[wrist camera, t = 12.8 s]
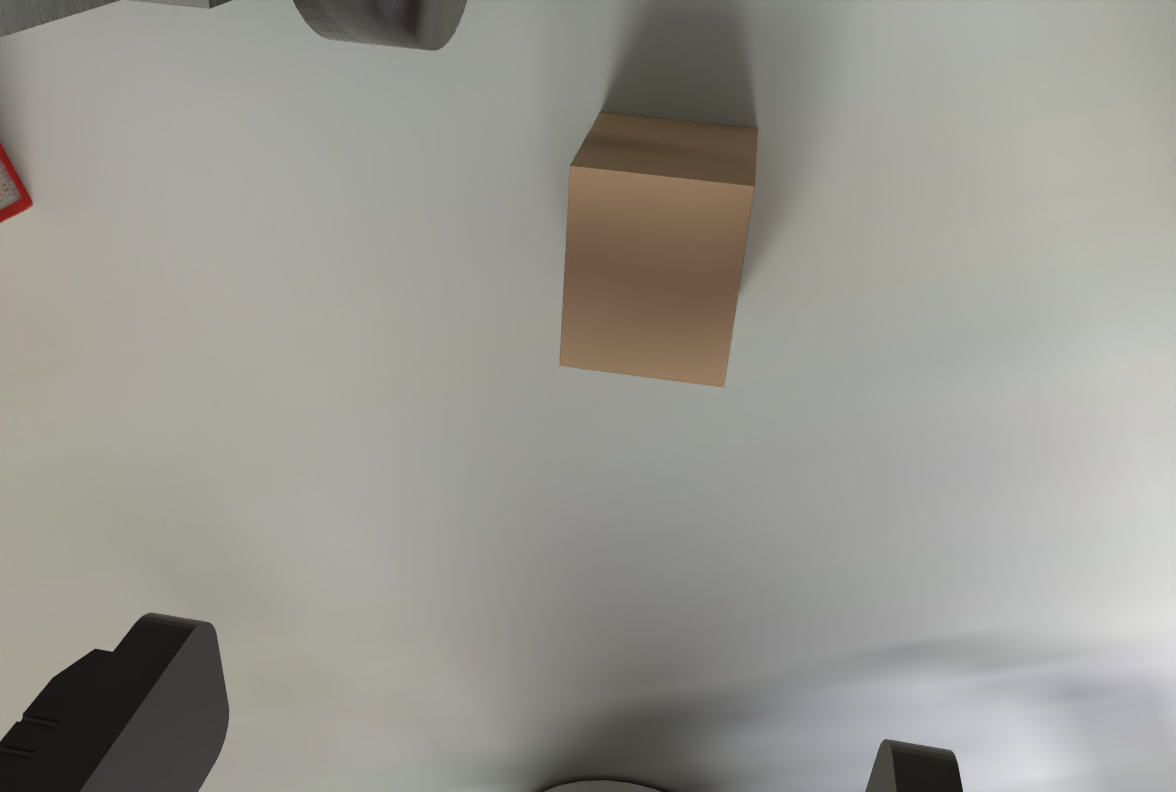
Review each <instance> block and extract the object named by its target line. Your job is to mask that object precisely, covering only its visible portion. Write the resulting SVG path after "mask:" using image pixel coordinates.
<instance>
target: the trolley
mask: <svg viewBox="0 0 1176 792" xmlns="http://www.w3.org/2000/svg"><path fill="white" fill-rule="evenodd" d="M116 1H119V0H0V37H3V36H6V35H9V34H12V33H16V32H19V31H22V30H25V29H29V28H32V27H35V26H38V25H42V24H45V23H48V22H51V21H55V20H58V19H61V18H64V17H68V16H71V15H74V14H77V13H80V12H84V11H87V10H90V9H93V8H97V7H100V6H103V5H106V4H110V3H113V2H116ZM131 1H141V2H151V3H160V4H170V5H179V6H189V7H199V8H208V9H210V8H213V7H215V6H218V5H221V4H223V3H226V2H229V1H231V0H131ZM293 1H294V3H295V5H296V8H297V9H298V11H299V12H300V14H301V15H302V17H303V19H304V20H305V21H306V23H307V24H308V25H309V26H310V27H311V28H312V29H313V31H315V32H316V33H317V34H319V35H320V36H322V37H324V38H327V39H329V40H337V41H347V42H356V43H365V44H375V45H384V46H394V47H403V48H412V49H422V50H438V49H440V48H442V47H444V46H445V45H446V44H447V43H448V42H449V40H450V39H451V37H452V36H453V34H454V32H455V30H456V28H457V26H458V24H459V22H460V19H461V17H462V14H463V12H464V9H465V5H466V2H467V0H293Z"/></svg>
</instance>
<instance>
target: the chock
mask: <svg viewBox="0 0 1176 792" xmlns="http://www.w3.org/2000/svg"><path fill="white" fill-rule="evenodd" d="M757 132H758V129H757V128H748V127H738V126H729V125H719V124H710V123H700V122H691V121H681V120H672V119H662V118H653V117H643V116H634V115H624V114H615V113H605V112H600V113H599V115H598V117H597V119H596V120H595V122H594V124H593V126H592V127H591V129H590V131H589V133H588V135H587V136H586V138H585V140H584V142H583V144H582V145H581V147H580V149H579V151H578V153H577V154H576V156H575V158H574V160H573V162H572V163H571V165H570V178H569V197H568V216H567V234H566V253H565V272H564V291H563V310H562V328H561V347H560V366H566V367H574V368H582V369H589V370H597V371H604V372H612V373H619V374H627V375H634V376H642V377H650V378H657V379H665V380H672V381H680V382H687V383H695V384H702V385H710V386H718V387H724V384H725V377H726V371H727V364H728V358H729V351H730V344H731V338H732V331H733V325H734V318H735V311H736V305H737V298H738V292H739V285H740V278H741V272H742V265H743V259H744V252H745V245H746V239H747V232H748V226H749V219H750V212H751V206H752V199H753V193H754V186H755V168H756V150H757Z"/></svg>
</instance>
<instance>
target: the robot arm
mask: <svg viewBox="0 0 1176 792" xmlns="http://www.w3.org/2000/svg"><path fill="white" fill-rule="evenodd" d="M228 721H229V705H228V699H227V693H226V687H225V681H224V675H223V669H222V663H221V658H220V652H219V646H218V640H217V634H216V630H215V628H214V626H213V625H212V624H211V623H209V622H205V621H199V620H193V619H187V618H181V617H175V616H169V615H163V614H157V613H148V614H145V615H144V616H142V617H141V618H140V619H139V620H138V621H137V622H136V623H135V624H134V625H133V627H132V628H131V629H130V631H129V632H128V633H127V634H126V636H125V637H124V638H123V640H122V641H121V642H120V643H119V645H118V646H117V647H116V649H115V650H114V651H113V652H111V651H105V650H99V649H94V650H93V651H91V652H90V653H88V654H87V655H85V656H84V657H82V658H81V659H79V660H78V661H76V662H75V663H74V664H72V665H71V666H69V667H68V668H66V669H65V670H63V671H62V672H60V673H59V674H58V675H56V676H55V677H53V678H52V679H51V681H50V682H49V683H48V684H47V685H46V687H45V688H44V689H43V690H42V691H41V693H40V694H39V695H38V696H37V698H36V699H35V700H34V701H33V702H32V704H31V705H30V706H29V707H28V708H27V710H26V711H25V712H24V713H23V718H22V720H21V721H20V722H16V723H15V724H14V725H13V727H12V728H11V729H10V730H9V732H8V733H7V734H6V735H5V736H4V738H3V739H2V740H1V741H0V792H198V791H199V789H200V788H201V786H202V784H203V782H204V781H205V779H206V777H207V776H208V774H209V772H210V770H211V769H212V767H213V765H214V764H215V762H216V760H217V758H218V756H219V754H220V751H221V749H222V746H223V743H224V740H225V737H226V732H227V728H228ZM544 792H661V791H658V790H656V789H652V788H648V787H644V786H640V785H636V784H632V783H626V782H616V781H607V780H599V781H579V782H574V783H569V784H564V785H559V786H556V787H554V788H551V789H549V790H547V791H544ZM865 792H963V789H962V784H961V778H960V773H959V768H958V763H957V760H956V757H955V755H954V753H953V752H952V751H951V750H947V749H941V748H935V747H929V746H923V745H917V744H911V743H905V742H900V741H894V740H888V739H885V740H883V741H882V743H881V745H880V747H879V750H878V753H877V756H876V759H875V763H874V766H873V769H872V772H871V775H870V779H869V782H868V785H867V788H866V791H865Z"/></svg>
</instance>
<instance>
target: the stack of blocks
mask: <svg viewBox="0 0 1176 792" xmlns="http://www.w3.org/2000/svg"><path fill="white" fill-rule="evenodd" d="M32 205H33V203H32V201H31V199H30V197H29V195H28V194H27V192H26V190H25V188H24V186H23V184H22V182H21V181H20V179H19V177H18V175H17V173H16V171H15V169H14V168H13V166H12V164H11V162H10V160H9V158H8V157H7V155H6V153H5V151H4V149H3V147H2V146H1V144H0V223H2V222H4V221H6V220H8V219H10V218H12V217H14V216H16V215H18V214H20V213H22V212H23V211H25V210H27V209H29V208H30V207H31V206H32Z"/></svg>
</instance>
